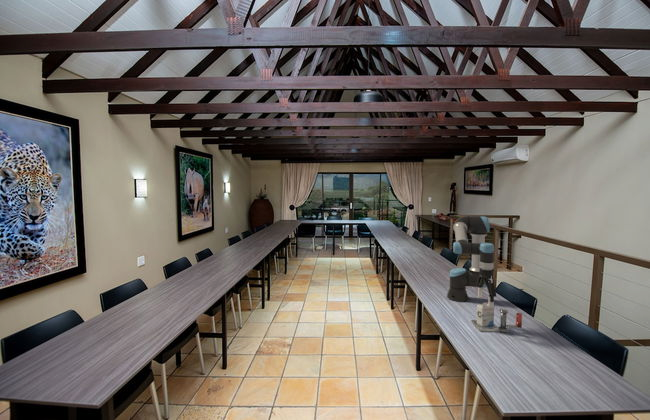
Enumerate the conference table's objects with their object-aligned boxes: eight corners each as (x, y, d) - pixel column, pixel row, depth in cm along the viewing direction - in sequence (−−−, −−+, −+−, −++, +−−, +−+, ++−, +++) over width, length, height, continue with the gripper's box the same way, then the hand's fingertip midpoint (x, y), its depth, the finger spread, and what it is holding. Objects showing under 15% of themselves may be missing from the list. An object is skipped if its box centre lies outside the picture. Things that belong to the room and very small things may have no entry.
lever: (505, 325, 178) (506, 312, 177) (519, 326, 178) (520, 312, 177) (508, 328, 175) (508, 314, 175) (522, 328, 175) (523, 314, 174)
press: (470, 322, 189) (471, 303, 188) (497, 322, 188) (497, 303, 187) (481, 332, 175) (481, 312, 175) (509, 333, 174) (510, 312, 174)
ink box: (487, 321, 186) (488, 298, 185) (493, 325, 181) (494, 301, 180) (476, 323, 184) (476, 300, 183) (481, 326, 180) (482, 303, 179)
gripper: (471, 262, 193) (470, 294, 195) (490, 274, 168) (489, 310, 170) (483, 262, 192) (482, 294, 194) (503, 274, 168) (502, 310, 170)
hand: (485, 302), depth 182 cm, fingers open, 13 cm apart
